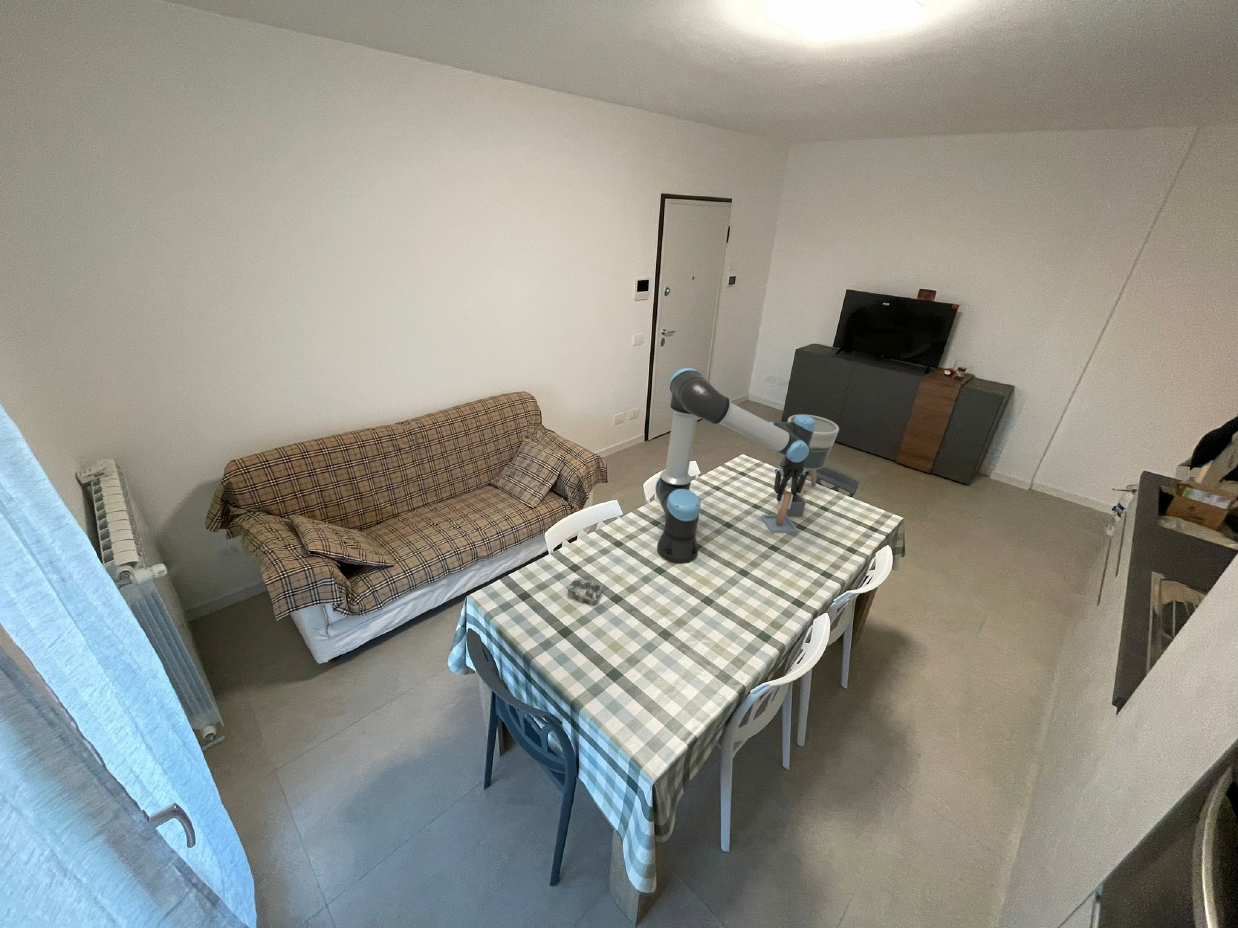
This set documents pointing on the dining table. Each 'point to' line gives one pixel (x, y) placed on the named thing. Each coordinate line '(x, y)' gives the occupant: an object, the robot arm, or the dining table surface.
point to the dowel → (783, 509)
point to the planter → (818, 445)
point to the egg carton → (589, 592)
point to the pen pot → (796, 507)
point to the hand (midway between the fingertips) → (783, 507)
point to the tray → (776, 528)
